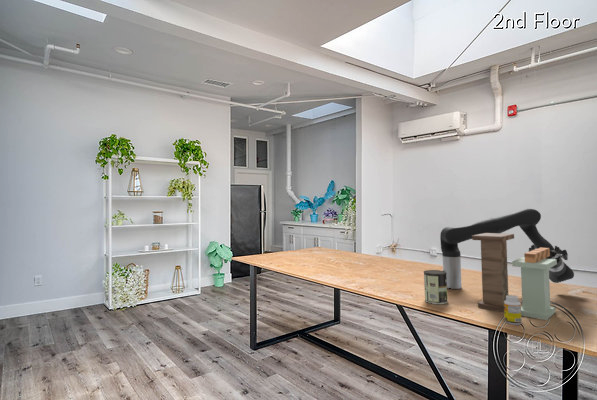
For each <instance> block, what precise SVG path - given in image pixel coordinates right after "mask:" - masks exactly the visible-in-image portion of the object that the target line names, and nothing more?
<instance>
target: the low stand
mask: <svg viewBox="0 0 597 400" xmlns="http://www.w3.org/2000/svg"><path fill="white" fill-rule="evenodd" d="M556 264H557V259H545V258H544V259H542V260H540V261H538V262H536V263H530V262H525V257H524V256H522V257H520V258H517V259H515V260H512V261H511V265H512V267H517V268H520V277H521V278H520V279H521V282H520V283H521V317H522V316H523V317H527V318H532V319H538V320H544V321H548V320H549V319H550V318H551V317H552V316H553V315H554V314H555V313H556V307H554V306H551V293H550V291H551V288H550V279H549V268H551V267H553V266H555V265H556Z"/></svg>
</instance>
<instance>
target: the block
mask: <svg viewBox="0 0 597 400" xmlns="http://www.w3.org/2000/svg"><path fill="white" fill-rule="evenodd" d="M523 255H524V256H523V257H525V262H530V263H536V262H538V261H540V260H542V259H544V258H547V257H549V256H550V248H538V249H535V250H532V251H530V252H529V251H527V252H524V254H523Z"/></svg>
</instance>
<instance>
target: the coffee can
mask: <svg viewBox="0 0 597 400" xmlns="http://www.w3.org/2000/svg"><path fill="white" fill-rule="evenodd" d="M446 274H447V272H445V271H443V270H440V269H429V270H428V269H426V270H424V271H423V279H424V280H423V281H424V282H423V284H424V302H425V301H426V302H425V303H427V302H428V303H427V304H431V303H432V304H433V305H445V304H448V303H449V302H448V288H447V276H446ZM432 304H431V305H432Z"/></svg>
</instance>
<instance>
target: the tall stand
mask: <svg viewBox="0 0 597 400" xmlns="http://www.w3.org/2000/svg"><path fill="white" fill-rule="evenodd" d="M513 239H515V233H483V234H478V235H472V239H471V240H472V241H480V257H481V284H482V285H481V286H482V287H481V288H482V289H481V290H482V291H481V292H482V300H480V301H478V302H477V308H479V309H485V310H490V311H495V312H500V313H504V301H505V300H506V295H509V279H508V278H509V272H508V271H509V270H508V248H507V245H508V243H507V241H510V240H513Z"/></svg>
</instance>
